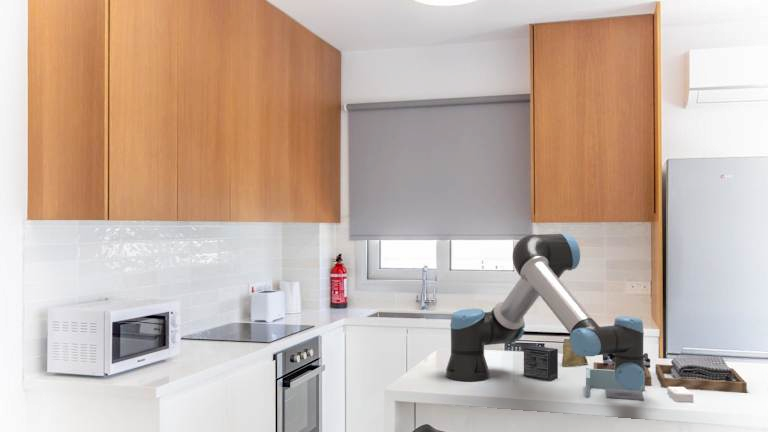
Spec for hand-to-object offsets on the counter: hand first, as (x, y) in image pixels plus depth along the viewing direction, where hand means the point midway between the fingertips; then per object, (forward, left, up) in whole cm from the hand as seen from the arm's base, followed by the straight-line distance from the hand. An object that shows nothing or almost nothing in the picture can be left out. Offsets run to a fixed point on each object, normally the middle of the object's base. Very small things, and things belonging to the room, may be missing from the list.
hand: (623, 352), depth 224 cm
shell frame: (0, +19, -13) cm, 23 cm away
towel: (+26, +22, -13) cm, 37 cm away
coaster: (0, -5, -13) cm, 14 cm away
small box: (-27, +12, -13) cm, 32 cm away
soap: (+16, -4, -13) cm, 21 cm away
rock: (-16, +36, -13) cm, 42 cm away
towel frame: (+25, +20, -13) cm, 34 cm away
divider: (-3, -4, -13) cm, 13 cm away
